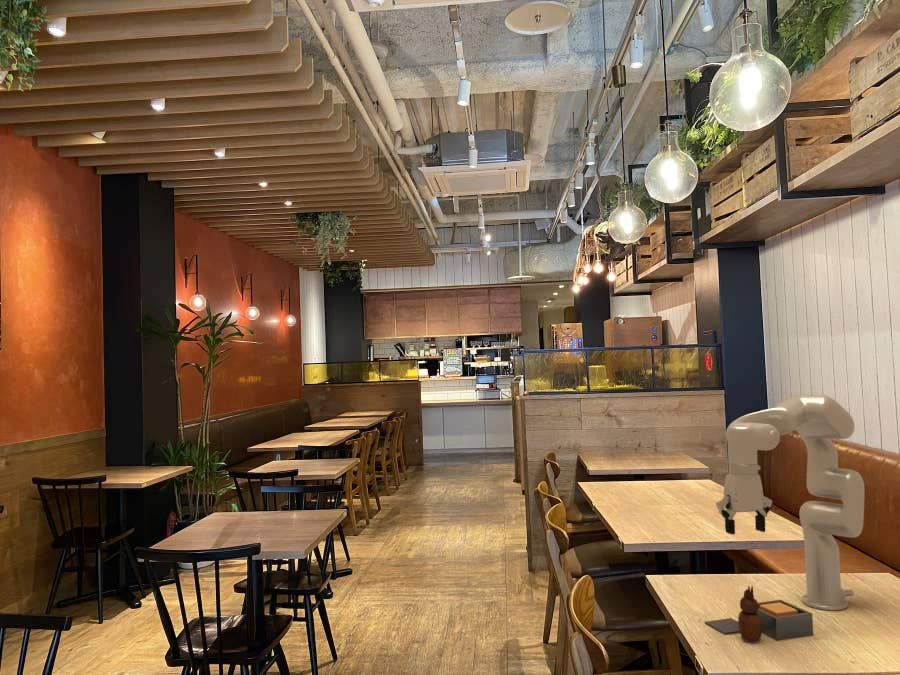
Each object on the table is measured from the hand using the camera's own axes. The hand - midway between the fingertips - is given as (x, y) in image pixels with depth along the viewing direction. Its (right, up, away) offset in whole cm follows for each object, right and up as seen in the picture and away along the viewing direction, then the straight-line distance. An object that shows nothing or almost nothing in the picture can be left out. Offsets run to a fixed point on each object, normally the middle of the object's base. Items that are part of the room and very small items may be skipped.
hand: (745, 532), depth 190 cm
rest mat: (-2, -29, +7) cm, 30 cm away
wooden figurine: (+1, -29, -2) cm, 29 cm away
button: (+11, -24, +4) cm, 27 cm away
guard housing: (+11, -29, +4) cm, 31 cm away
